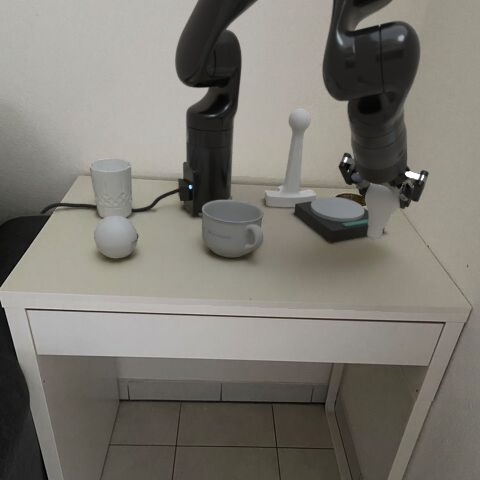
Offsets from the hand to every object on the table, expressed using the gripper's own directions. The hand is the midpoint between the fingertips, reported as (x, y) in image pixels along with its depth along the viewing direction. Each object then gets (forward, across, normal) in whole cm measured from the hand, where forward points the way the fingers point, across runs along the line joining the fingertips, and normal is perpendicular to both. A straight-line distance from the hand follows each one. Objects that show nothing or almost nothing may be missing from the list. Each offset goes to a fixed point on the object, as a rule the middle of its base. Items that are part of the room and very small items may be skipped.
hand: (385, 198), depth 86 cm
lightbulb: (+4, 0, +6) cm, 8 cm away
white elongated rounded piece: (-11, +37, +27) cm, 47 cm away
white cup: (-2, +50, +19) cm, 53 cm away
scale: (+14, +10, +1) cm, 18 cm away
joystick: (+18, +24, -2) cm, 30 cm away
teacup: (-3, +21, +19) cm, 28 cm away
